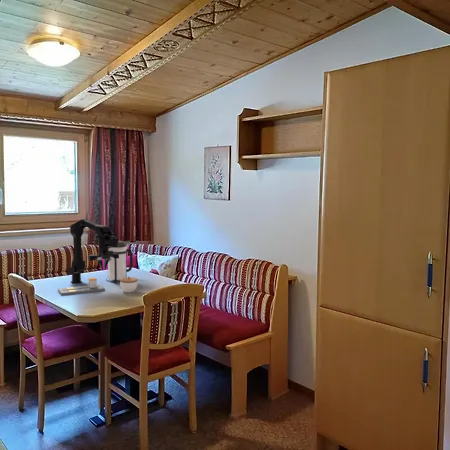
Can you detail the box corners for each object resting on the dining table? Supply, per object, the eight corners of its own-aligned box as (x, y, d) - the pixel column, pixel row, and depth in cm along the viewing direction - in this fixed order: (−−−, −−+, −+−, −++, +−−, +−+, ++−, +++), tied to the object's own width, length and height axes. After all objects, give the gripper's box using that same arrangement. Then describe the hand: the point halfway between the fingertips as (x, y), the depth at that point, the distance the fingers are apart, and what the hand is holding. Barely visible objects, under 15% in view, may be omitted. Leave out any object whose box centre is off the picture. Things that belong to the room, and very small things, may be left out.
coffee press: (127, 283, 306) (126, 239, 303) (103, 282, 306) (102, 238, 303) (132, 277, 323) (132, 235, 320) (110, 277, 323) (110, 235, 320)
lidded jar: (141, 290, 287) (141, 276, 286) (129, 294, 278) (128, 279, 277) (128, 288, 293) (128, 274, 292) (116, 291, 284) (116, 277, 283)
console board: (57, 290, 283) (57, 288, 283) (99, 286, 296) (99, 283, 296) (61, 295, 273) (61, 292, 273) (104, 290, 286) (104, 288, 286)
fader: (88, 286, 289) (88, 278, 288) (95, 285, 291) (95, 277, 290) (90, 287, 285) (90, 279, 285) (96, 287, 287) (96, 278, 287)
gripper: (91, 248, 277) (91, 273, 279) (121, 246, 286) (121, 271, 288) (87, 246, 287) (87, 270, 288) (116, 244, 296) (116, 267, 298)
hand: (103, 269), depth 290 cm, fingers closed
